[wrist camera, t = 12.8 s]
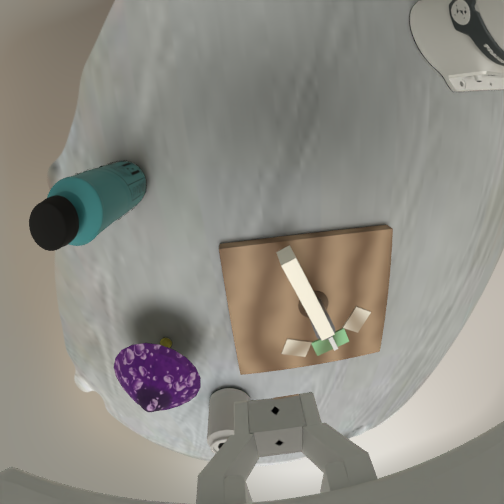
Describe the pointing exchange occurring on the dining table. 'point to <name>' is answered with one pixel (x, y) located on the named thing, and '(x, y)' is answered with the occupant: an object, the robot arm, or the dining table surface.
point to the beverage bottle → (86, 205)
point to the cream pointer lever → (307, 296)
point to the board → (290, 307)
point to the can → (222, 416)
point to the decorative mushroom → (156, 375)
